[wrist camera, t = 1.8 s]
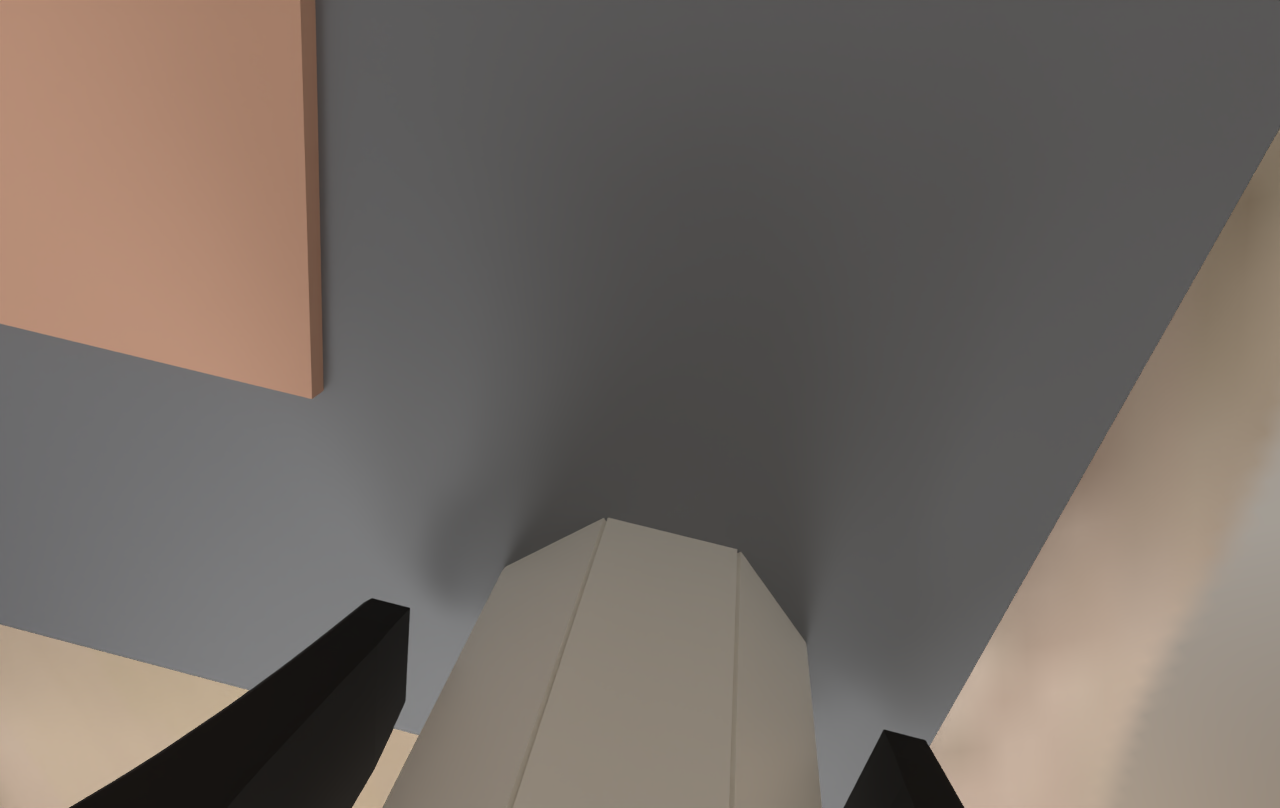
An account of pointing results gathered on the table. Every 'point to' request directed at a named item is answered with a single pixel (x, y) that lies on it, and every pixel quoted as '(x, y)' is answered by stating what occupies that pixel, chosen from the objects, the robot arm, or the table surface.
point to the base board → (666, 330)
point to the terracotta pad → (165, 182)
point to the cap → (622, 686)
